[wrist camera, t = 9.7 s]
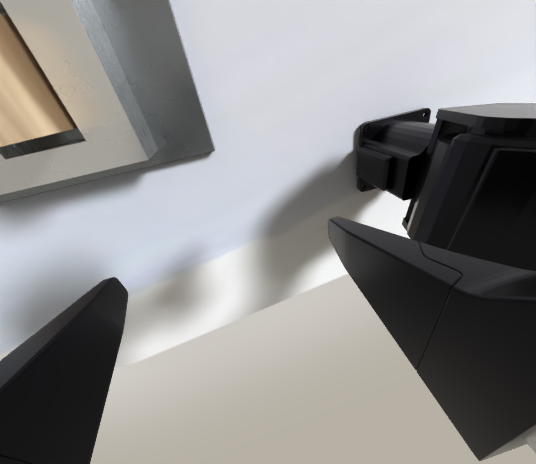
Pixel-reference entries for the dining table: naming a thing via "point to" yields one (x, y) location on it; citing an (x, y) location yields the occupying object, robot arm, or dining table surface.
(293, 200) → the dining table surface
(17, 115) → the oak wedge
